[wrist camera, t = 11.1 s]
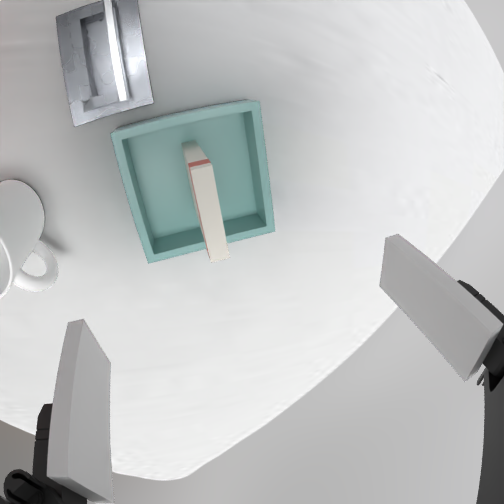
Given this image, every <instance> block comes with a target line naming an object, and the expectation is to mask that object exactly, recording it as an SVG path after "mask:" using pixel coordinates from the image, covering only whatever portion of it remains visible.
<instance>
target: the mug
mask: <svg viewBox="0 0 504 504" xmlns="http://www.w3.org/2000/svg"><path fill="white" fill-rule="evenodd" d="M44 222H45V216H44V210H43V206H42V203H41V201H40V199H39V197H38V195H37V194H36V193H35V191H34V190H33V189H32V188H31V187H30V186H28V185H27V184H25V183H23V182H21V181H18V180H5V181H2V182H0V298H1V297H3V296H4V295H5V294H6V293H7V292H8V290H9V288H10V287H11V285H12V284H14V285H15V286H17V287H19V288H21V289H23V290H27V291H31V292H40V291H44V290H46V289H48V288H50V287H51V286H52V285H53V284H54V283H55V281H56V279H57V276H58V263H57V260H56V258H55V256H54V254H53V253H52V251H51V250H50V249H49V248H48V247H47V246H46V245H45V244H44V243H43V242H42V241H41V240H39V239H40V237H41V234H42V231H43V228H44ZM32 251H33V252H34V253H36V254H37V255H38V256H40V257H41V258H42V260H43V261H44V262H45V264H46V267H47V270H46V273H45V274H44V275H43V276H40V277H35V276H32V275H29V274H27V273H26V272H24V271H23V270H22V269H21V268H22V266H23V264H24V263H25V261H26V259H27V258H28V256H29V255H30V253H31V252H32Z"/></svg>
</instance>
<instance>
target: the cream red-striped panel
mask: <svg viewBox="0 0 504 504" xmlns="http://www.w3.org/2000/svg"><path fill="white" fill-rule="evenodd" d="M181 146H182V151H183V156H184V161H185V165H186V170H187V175H188V180H189V184H190V189H191V193H192V198H193V203H194V207H195V211H196V214H197V218H198V221H199V224H200V228H201V231H202V234H203V238H204V241H205V244H206V248H207V252H208V255H209V258H210V260H211V263H213V262H217V261H221V260H225V259H228V258H230V256H229V251H228V246H227V241H226V235H225V230H224V225H223V220H222V215H221V209H220V204H219V199H218V194H217V188H216V183H215V177H214V172H213V167H212V164H211V162H210V161H209V159H208V158H207V157H206V155H205V154H204V152H203V151H202V149H201V148H200V146H199V145H198V143H197V142H196V140H193V141H189V142H184V143H181Z"/></svg>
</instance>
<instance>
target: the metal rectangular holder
mask: <svg viewBox="0 0 504 504" xmlns="http://www.w3.org/2000/svg"><path fill="white" fill-rule="evenodd" d="M56 23H57V32H58V41H59V48H60V55H61V62H62V68H63V74H64V80H65V85H66V90H67V96H68V101H69V105H70V110H71V115H72V119H73V123H74V127H76V126H79V125H81V124H84V123H87V122H90V121H93V120H96V119H99V118H102V117H106V116H109V115H112V114H115V113H119V112H122V111H126V110H129V109H133V108H136V107H140V106H144V105H148V104H152V103H154V101H153V96H152V90H151V85H150V79H149V74H148V68H147V62H146V56H145V50H144V44H143V37H142V31H141V24H140V17H139V9H138V2H137V0H102V1H98V2H95V3H92V4H89V5H86V6H83V7H80V8H78V9H75V10H72V11H69V12H67V13H64V14H62V15H59V16H57V17H56Z"/></svg>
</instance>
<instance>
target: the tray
mask: <svg viewBox="0 0 504 504" xmlns="http://www.w3.org/2000/svg"><path fill="white" fill-rule="evenodd" d="M111 138H112V142H113V146H114V150H115V154H116V158H117V162H118V166H119V170H120V173H121V177H122V181H123V184H124V188H125V191H126V195H127V198H128V202H129V205H130V208H131V212H132V215H133V218H134V221H135V225H136V228H137V231H138V234H139V237H140V240H141V243H142V246H143V249H144V252H145V255H146V258H147V261H148V264H149V263H153V262H157V261H160V260H164V259H168V258H172V257H176V256H180V255H184V254H187V253H191V252H195V251H199V250H203V249H207V248H206V244H205V241H204V238H203V234H202V231H201V228H200V224H199V221H198V218H197V214H196V211H195V207H194V203H193V198H192V193H191V189H190V184H189V180H188V175H187V170H186V165H185V161H184V156H183V151H182V146H181V143H184V142H189V141H193V140H196V142H197V143H198V145H199V146H200V148H201V149H202V151H203V152H204V154H205V155H206V157H207V158H208V159H209V161H210V162H211V164H212V167H213V172H214V177H215V183H216V188H217V194H218V199H219V204H220V209H221V215H222V220H223V225H224V230H225V235H226V241H227V243H231V242H235V241H239V240H243V239H247V238H251V237H255V236H259V235H263V234H267V233H271V232H275V225H274V216H273V207H272V198H271V190H270V181H269V173H268V164H267V156H266V148H265V140H264V132H263V124H262V117H261V109H260V102H259V101H256V100H241V101H235V102H229V103H223V104H217V105H212V106H206V107H201V108H196V109H191V110H187V111H182V112H178V113H173V114H169V115H165V116H161V117H157V118H153V119H149V120H145V121H141V122H137V123H134V124H130V125H127V126H123V127H120V128H117V129H115V130H114V131H113V132H112V133H111Z"/></svg>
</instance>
